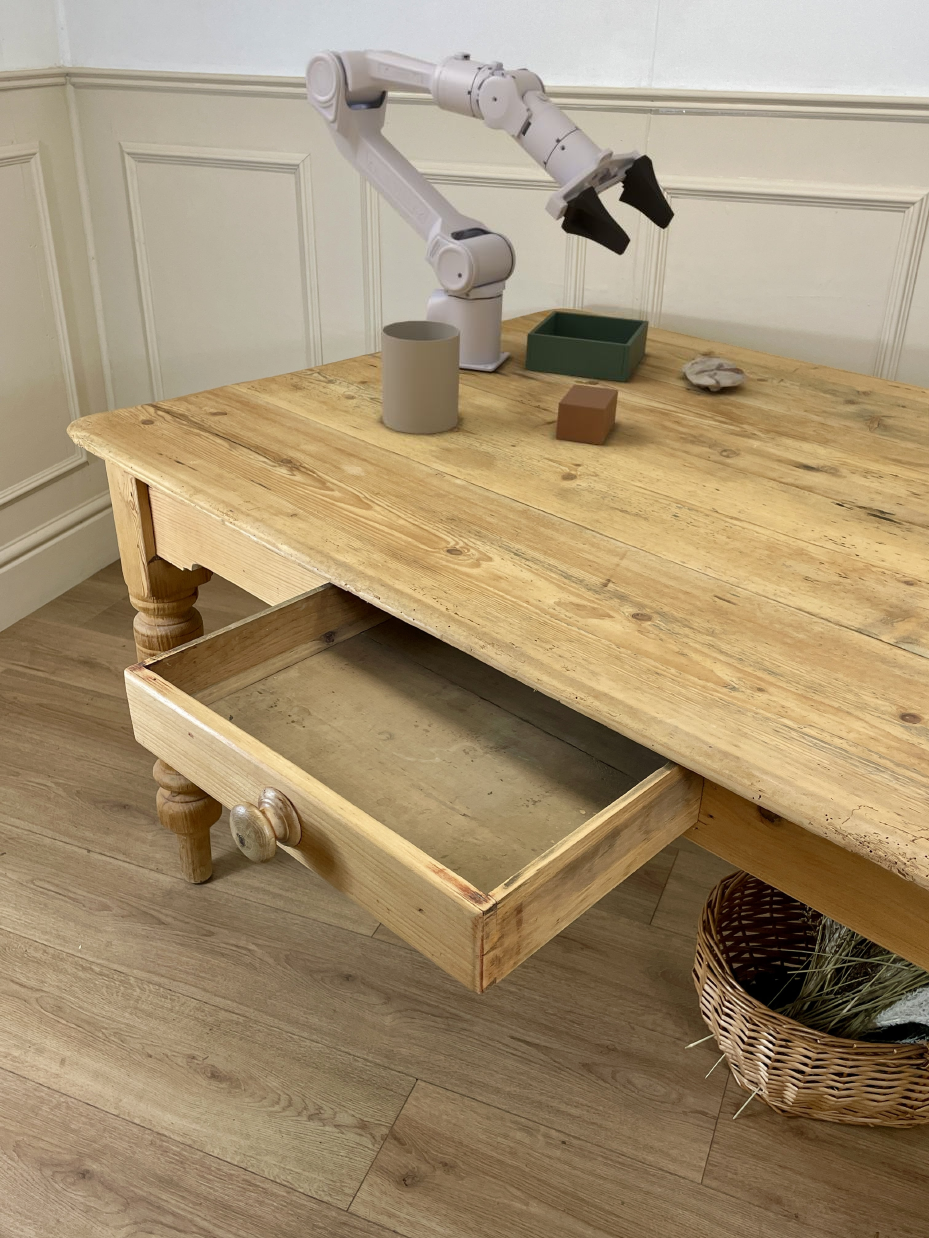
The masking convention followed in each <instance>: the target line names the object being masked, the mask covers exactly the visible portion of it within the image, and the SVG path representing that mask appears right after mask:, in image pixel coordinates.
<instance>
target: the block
mask: <svg viewBox="0 0 929 1238" xmlns="http://www.w3.org/2000/svg"><path fill="white" fill-rule="evenodd" d="M618 396H619V389H615V388H606V387H599V386H592V385H582V384H573V385H572V387H571V388H570V389H569V390H568V391H567V393H566V394H565V395H564V396H563V397H562V399H560V401H558V408H557V419H556V420H557V422H556V435H555V438H556V439H557V440H564V441H571V442H578V443H584V444H591V445H599V446H601V445H602V444H603V443H604V441H605V440H606V438H607V437H608V435H609V434H610V432H611V430H612V429H613V428H614V426H615V424H616V416H617V415H616V414H617V407H618V406H617V404H618Z"/></svg>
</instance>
